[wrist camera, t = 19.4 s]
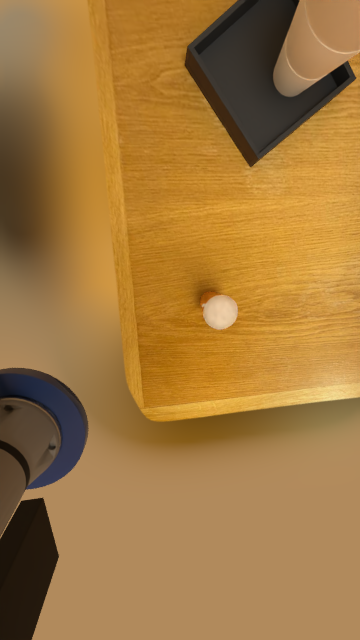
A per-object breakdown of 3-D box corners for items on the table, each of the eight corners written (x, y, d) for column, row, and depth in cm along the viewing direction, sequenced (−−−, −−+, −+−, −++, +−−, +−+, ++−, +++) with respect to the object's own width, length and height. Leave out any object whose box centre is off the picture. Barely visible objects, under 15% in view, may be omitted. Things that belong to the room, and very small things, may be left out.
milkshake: (199, 279, 43) (210, 288, 33) (229, 294, 44) (248, 307, 34) (185, 305, 44) (193, 321, 34) (215, 320, 45) (231, 339, 35)
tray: (184, 65, 36) (187, 46, 33) (279, -21, 35) (292, -50, 32) (250, 167, 40) (258, 159, 36) (339, 93, 38) (356, 78, 35)
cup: (318, 128, 38) (452, 26, 21) (244, 113, 37) (320, -8, 20) (339, 36, 36) (510, -166, 19) (260, 17, 35) (363, -218, 17)
